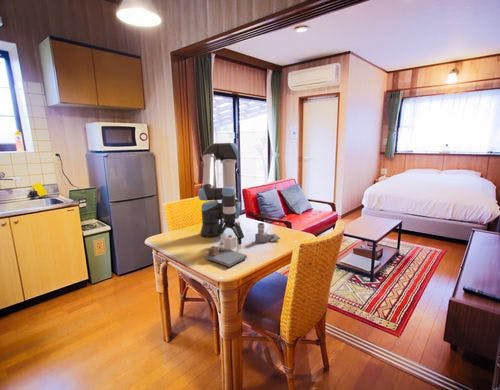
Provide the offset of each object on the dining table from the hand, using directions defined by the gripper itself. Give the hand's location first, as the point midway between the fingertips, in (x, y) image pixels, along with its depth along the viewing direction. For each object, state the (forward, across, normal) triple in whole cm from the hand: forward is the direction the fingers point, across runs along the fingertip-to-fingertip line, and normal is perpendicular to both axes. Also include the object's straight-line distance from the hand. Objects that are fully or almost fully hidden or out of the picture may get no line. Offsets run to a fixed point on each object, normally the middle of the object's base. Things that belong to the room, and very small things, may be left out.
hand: (230, 246), depth 168 cm
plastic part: (+1, 0, 0) cm, 1 cm away
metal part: (-2, +4, -11) cm, 12 cm away
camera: (+1, +11, +23) cm, 25 cm away
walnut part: (-2, +4, -18) cm, 18 cm away
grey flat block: (+1, +10, -14) cm, 17 cm away
